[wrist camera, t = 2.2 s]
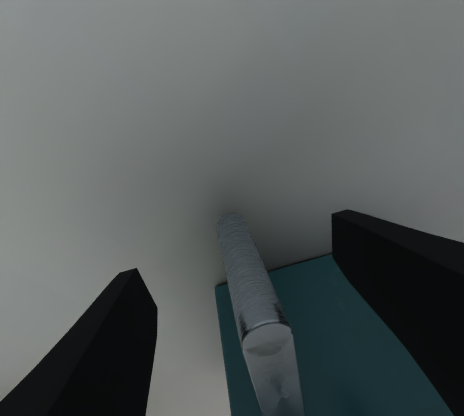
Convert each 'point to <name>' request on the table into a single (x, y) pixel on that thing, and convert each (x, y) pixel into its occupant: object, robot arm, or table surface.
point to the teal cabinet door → (309, 341)
